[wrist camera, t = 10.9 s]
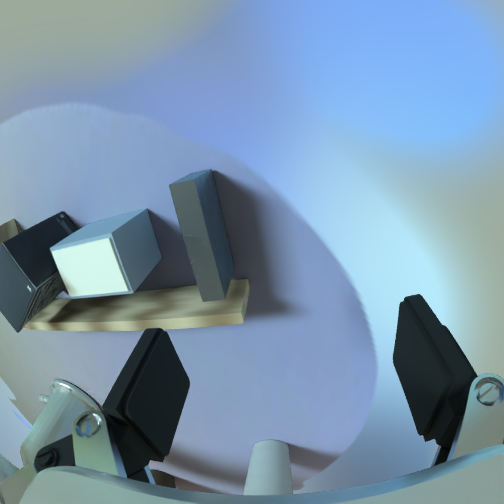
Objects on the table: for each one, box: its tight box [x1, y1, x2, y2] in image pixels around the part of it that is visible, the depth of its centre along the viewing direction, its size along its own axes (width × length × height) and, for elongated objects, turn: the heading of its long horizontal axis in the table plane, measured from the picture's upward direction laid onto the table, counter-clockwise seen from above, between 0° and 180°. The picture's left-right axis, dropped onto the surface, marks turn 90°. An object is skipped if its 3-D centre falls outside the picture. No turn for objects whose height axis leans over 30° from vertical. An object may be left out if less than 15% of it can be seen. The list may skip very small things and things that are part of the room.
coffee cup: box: [243, 440, 293, 495], centre depth 37 cm, size 10×10×15 cm
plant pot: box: [150, 470, 175, 488], centre depth 49 cm, size 15×15×16 cm
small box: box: [0, 211, 78, 333], centre depth 26 cm, size 11×6×10 cm, turn 132°
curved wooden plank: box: [0, 219, 250, 331], centre depth 27 cm, size 32×14×6 cm, turn 101°
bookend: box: [169, 169, 235, 302], centre depth 24 cm, size 2×10×6 cm, turn 11°
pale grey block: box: [50, 209, 162, 299], centre depth 26 cm, size 8×6×8 cm
